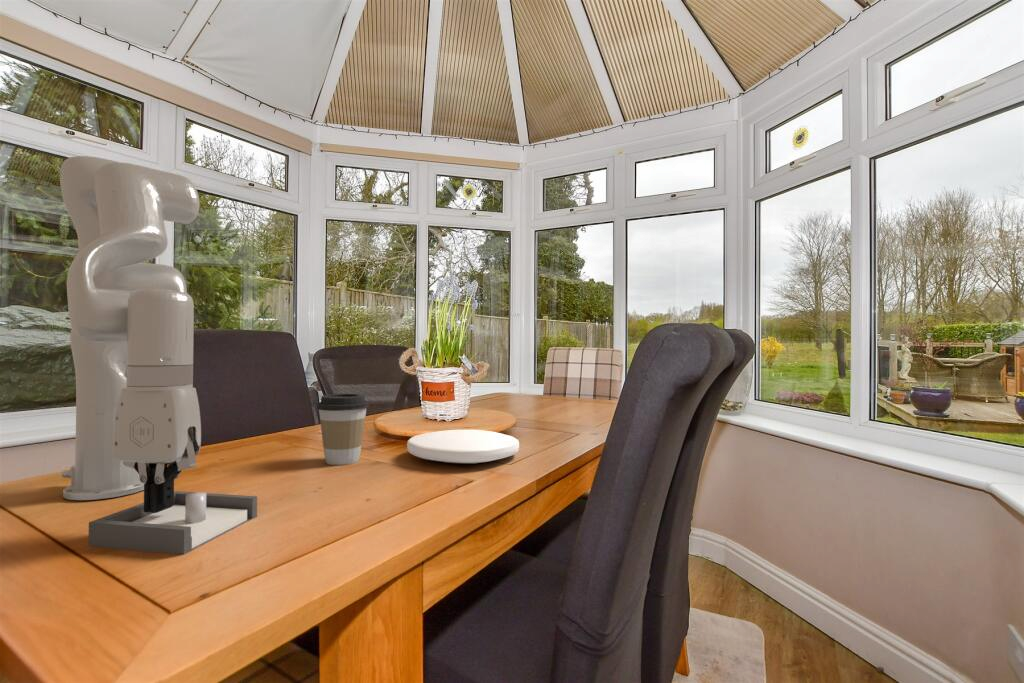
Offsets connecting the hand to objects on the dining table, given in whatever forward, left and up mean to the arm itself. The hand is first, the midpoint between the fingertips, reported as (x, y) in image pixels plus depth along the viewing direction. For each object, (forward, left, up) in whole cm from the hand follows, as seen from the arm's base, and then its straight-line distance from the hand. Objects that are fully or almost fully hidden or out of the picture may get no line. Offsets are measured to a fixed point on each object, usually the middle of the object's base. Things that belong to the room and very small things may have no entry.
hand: (159, 509), depth 67 cm
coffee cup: (+4, +44, -4) cm, 44 cm away
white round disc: (+30, +54, -4) cm, 62 cm away
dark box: (+4, 0, -4) cm, 5 cm away
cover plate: (+4, 0, -3) cm, 5 cm away
